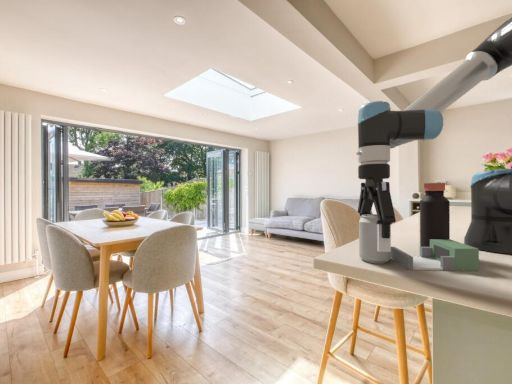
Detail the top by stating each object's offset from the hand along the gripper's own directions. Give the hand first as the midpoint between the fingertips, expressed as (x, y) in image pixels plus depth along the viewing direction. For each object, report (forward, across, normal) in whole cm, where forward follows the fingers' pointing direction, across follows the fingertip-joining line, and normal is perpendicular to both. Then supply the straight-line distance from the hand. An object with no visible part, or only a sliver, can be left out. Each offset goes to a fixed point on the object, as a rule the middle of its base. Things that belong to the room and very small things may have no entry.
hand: (373, 244), depth 67 cm
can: (+4, 0, 0) cm, 4 cm away
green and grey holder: (+4, +2, +13) cm, 14 cm away
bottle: (+4, -7, +19) cm, 20 cm away
